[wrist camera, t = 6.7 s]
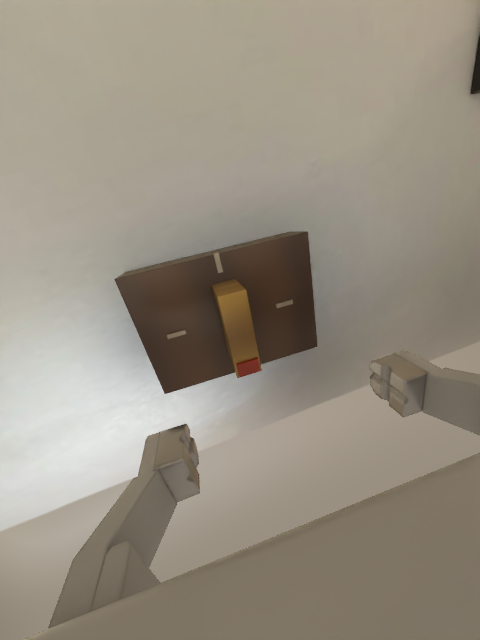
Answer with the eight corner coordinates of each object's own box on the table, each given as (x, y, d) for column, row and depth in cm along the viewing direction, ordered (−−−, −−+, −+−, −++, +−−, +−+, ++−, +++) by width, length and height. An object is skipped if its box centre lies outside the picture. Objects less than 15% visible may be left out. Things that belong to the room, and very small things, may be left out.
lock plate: (291, 230, 19) (309, 230, 17) (302, 334, 23) (318, 348, 21) (124, 270, 18) (112, 278, 15) (168, 374, 22) (165, 396, 19)
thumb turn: (211, 284, 17) (217, 298, 13) (235, 278, 17) (247, 290, 13) (229, 353, 19) (238, 380, 15) (249, 347, 19) (263, 372, 16)
